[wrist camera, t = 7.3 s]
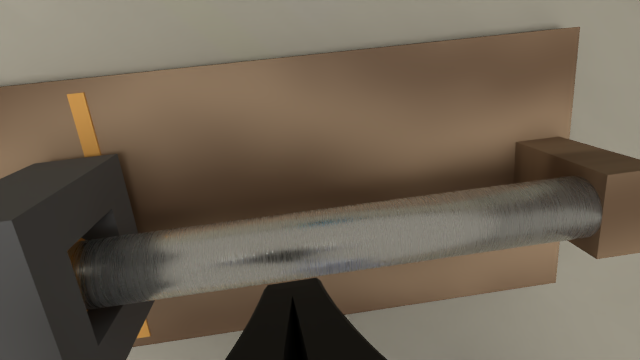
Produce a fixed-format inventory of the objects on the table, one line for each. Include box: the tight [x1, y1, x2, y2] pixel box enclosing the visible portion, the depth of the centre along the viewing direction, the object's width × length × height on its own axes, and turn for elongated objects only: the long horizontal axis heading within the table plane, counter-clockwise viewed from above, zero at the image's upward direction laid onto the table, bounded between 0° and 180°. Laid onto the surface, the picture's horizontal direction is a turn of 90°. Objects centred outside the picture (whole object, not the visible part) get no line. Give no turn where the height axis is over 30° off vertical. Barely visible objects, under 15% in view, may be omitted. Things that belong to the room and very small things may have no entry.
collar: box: [0, 154, 155, 360], centre depth 13 cm, size 6×3×6 cm, turn 6°
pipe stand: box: [0, 27, 640, 347], centre depth 15 cm, size 12×27×6 cm, turn 96°
